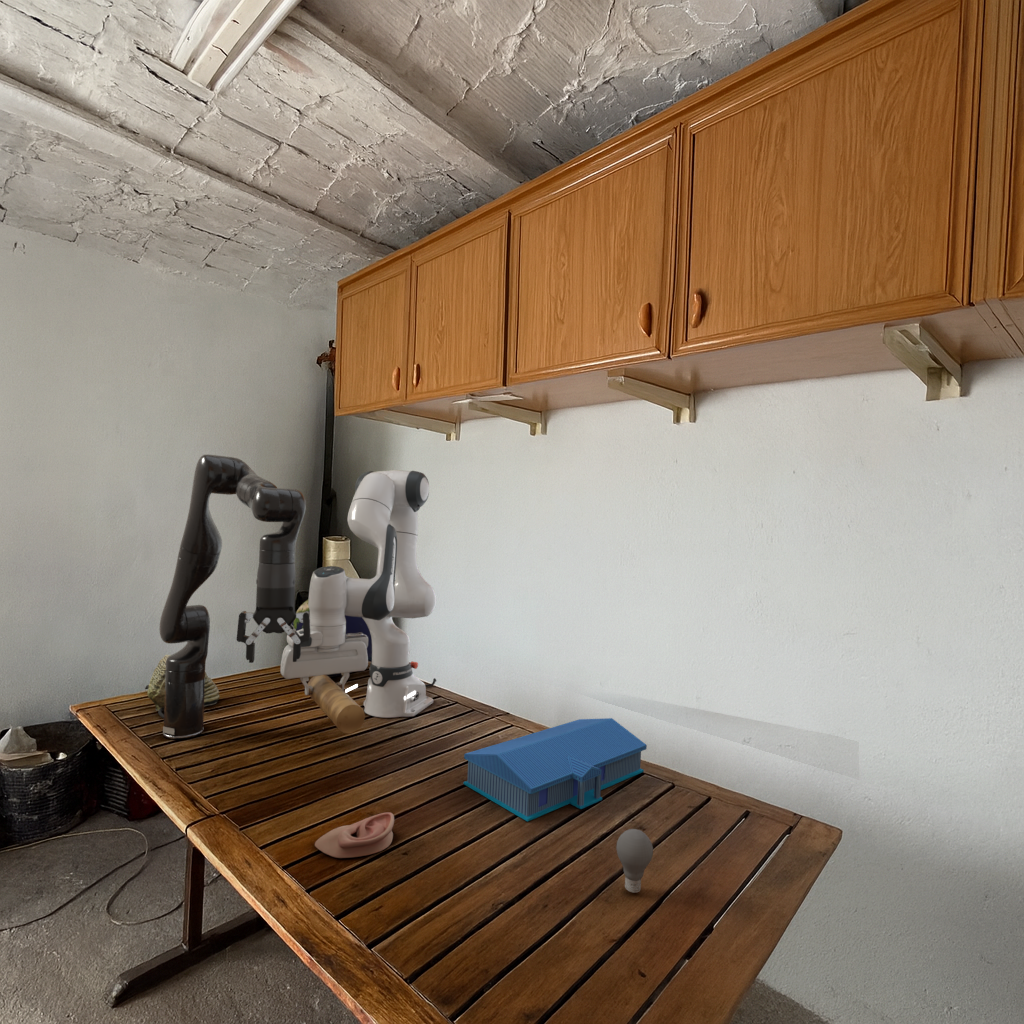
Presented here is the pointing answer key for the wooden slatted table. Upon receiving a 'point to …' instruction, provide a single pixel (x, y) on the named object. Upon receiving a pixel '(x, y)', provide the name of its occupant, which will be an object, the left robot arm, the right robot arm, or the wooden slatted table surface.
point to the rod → (336, 704)
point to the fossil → (158, 687)
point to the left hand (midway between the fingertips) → (273, 661)
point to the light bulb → (634, 857)
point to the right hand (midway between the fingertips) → (324, 692)
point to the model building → (555, 766)
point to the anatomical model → (358, 837)
